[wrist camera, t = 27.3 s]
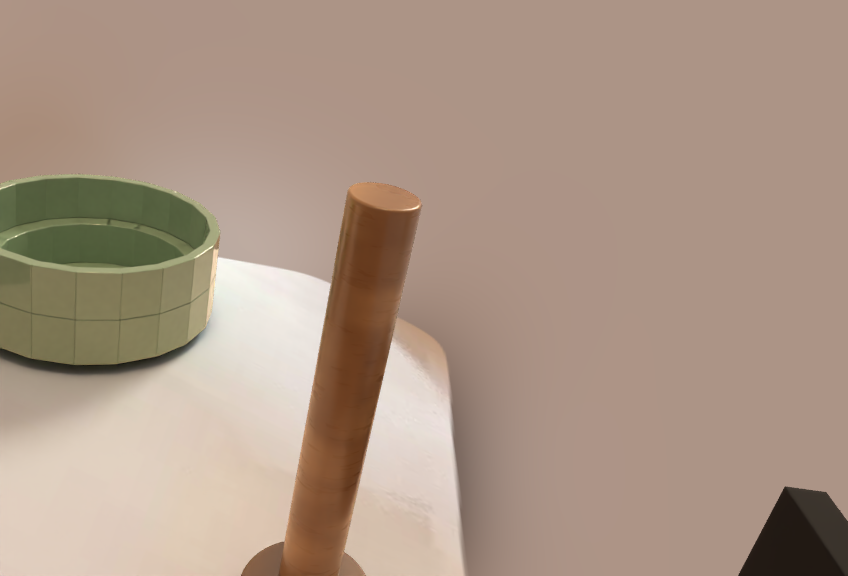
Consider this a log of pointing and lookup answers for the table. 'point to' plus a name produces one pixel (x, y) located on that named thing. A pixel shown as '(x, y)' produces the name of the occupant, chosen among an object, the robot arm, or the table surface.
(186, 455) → the table surface
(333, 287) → the brown rod with base
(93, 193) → the bowl
